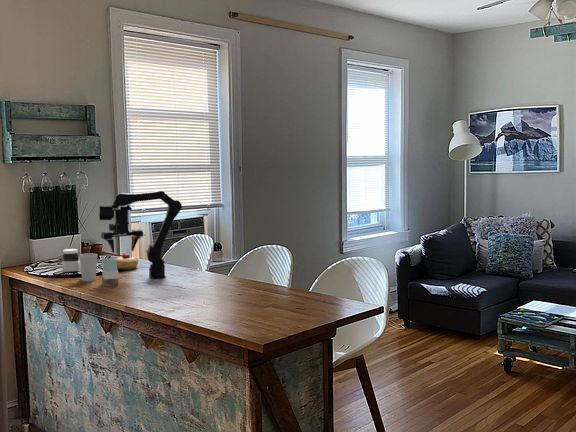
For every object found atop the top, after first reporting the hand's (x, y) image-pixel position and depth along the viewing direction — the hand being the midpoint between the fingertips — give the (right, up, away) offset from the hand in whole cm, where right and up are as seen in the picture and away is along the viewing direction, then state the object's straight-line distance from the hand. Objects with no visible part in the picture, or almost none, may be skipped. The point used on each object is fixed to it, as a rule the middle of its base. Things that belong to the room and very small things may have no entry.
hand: (122, 252), depth 295 cm
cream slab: (-2, -11, -12) cm, 16 cm away
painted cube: (-2, -7, -13) cm, 15 cm away
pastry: (-5, -10, +26) cm, 28 cm away
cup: (-15, -13, -3) cm, 20 cm away
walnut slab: (-3, -14, -12) cm, 19 cm away
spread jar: (-27, -11, +11) cm, 31 cm away
